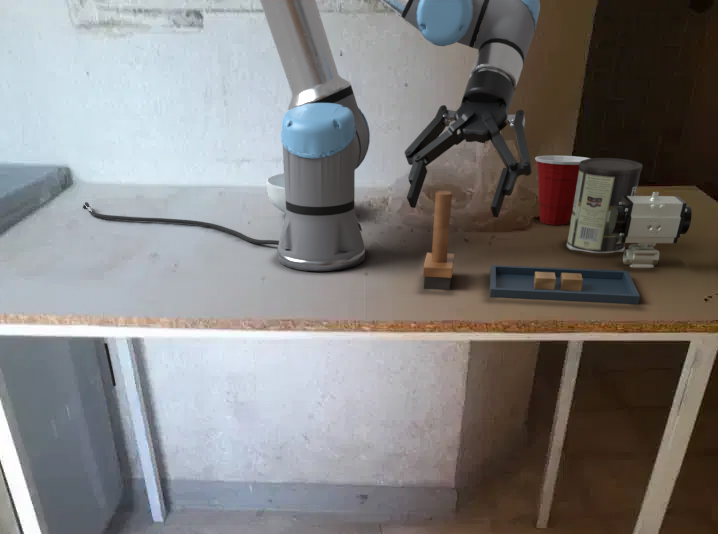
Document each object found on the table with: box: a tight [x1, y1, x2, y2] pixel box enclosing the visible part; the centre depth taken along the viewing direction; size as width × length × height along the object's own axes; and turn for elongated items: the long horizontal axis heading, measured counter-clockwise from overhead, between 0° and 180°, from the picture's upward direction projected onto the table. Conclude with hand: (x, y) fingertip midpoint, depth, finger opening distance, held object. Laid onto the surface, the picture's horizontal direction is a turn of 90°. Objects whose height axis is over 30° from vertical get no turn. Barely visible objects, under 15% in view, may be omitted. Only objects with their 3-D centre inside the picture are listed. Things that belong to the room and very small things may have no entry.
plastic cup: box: [534, 155, 592, 226], centre depth 143 cm, size 11×11×12 cm
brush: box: [422, 190, 455, 291], centre depth 113 cm, size 4×7×14 cm, turn 171°
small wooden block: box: [560, 273, 583, 291], centre depth 113 cm, size 3×3×2 cm
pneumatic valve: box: [609, 191, 693, 269], centre depth 119 cm, size 6×12×12 cm, turn 86°
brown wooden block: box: [534, 272, 556, 290], centre depth 113 cm, size 3×3×2 cm
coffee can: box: [566, 157, 644, 254], centre depth 128 cm, size 10×10×14 cm
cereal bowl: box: [266, 172, 286, 214], centre depth 150 cm, size 17×17×7 cm
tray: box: [489, 264, 641, 305], centre depth 114 cm, size 22×12×2 cm, turn 81°
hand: (451, 207), depth 113 cm, fingers open, 13 cm apart
